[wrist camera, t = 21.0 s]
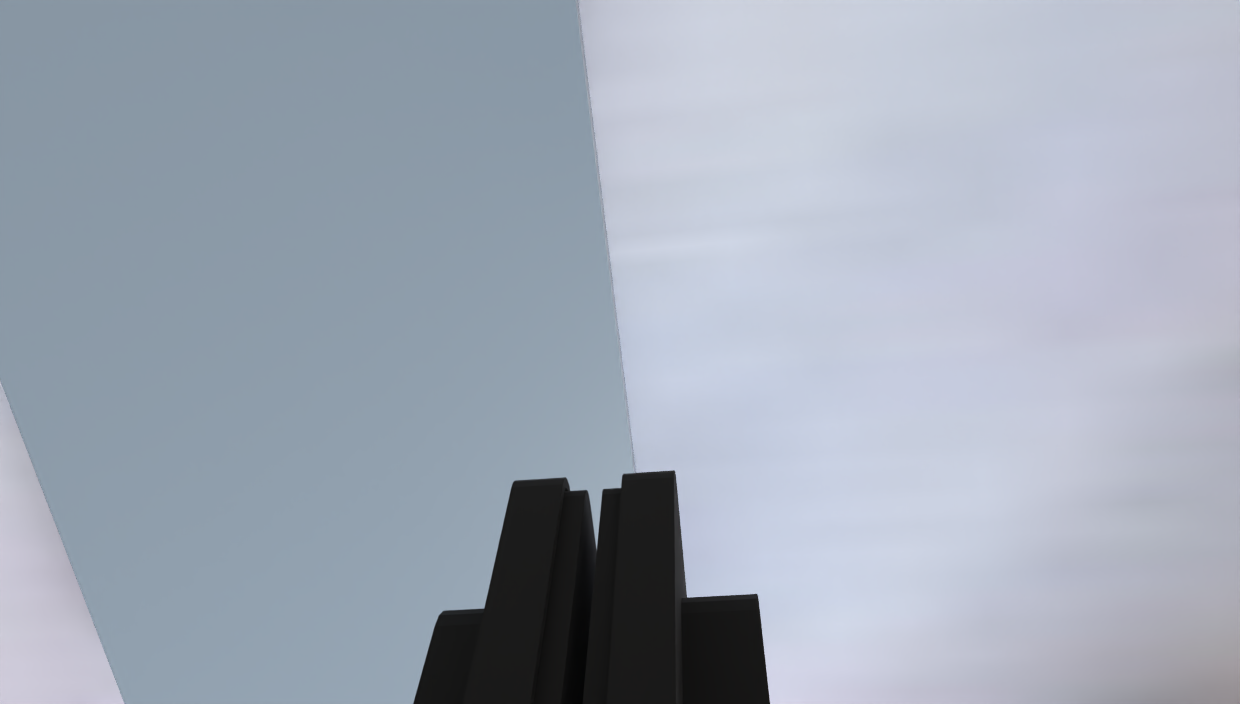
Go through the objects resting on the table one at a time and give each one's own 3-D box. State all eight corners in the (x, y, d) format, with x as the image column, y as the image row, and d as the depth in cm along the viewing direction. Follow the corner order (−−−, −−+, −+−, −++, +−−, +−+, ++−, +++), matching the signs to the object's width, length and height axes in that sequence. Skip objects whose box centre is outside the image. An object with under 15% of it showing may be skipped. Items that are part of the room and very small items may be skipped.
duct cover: (540, -307, 18) (537, -315, 17) (668, 741, 27) (671, 772, 26) (-187, -213, 18) (-230, -216, 17) (182, 783, 27) (167, 816, 26)
